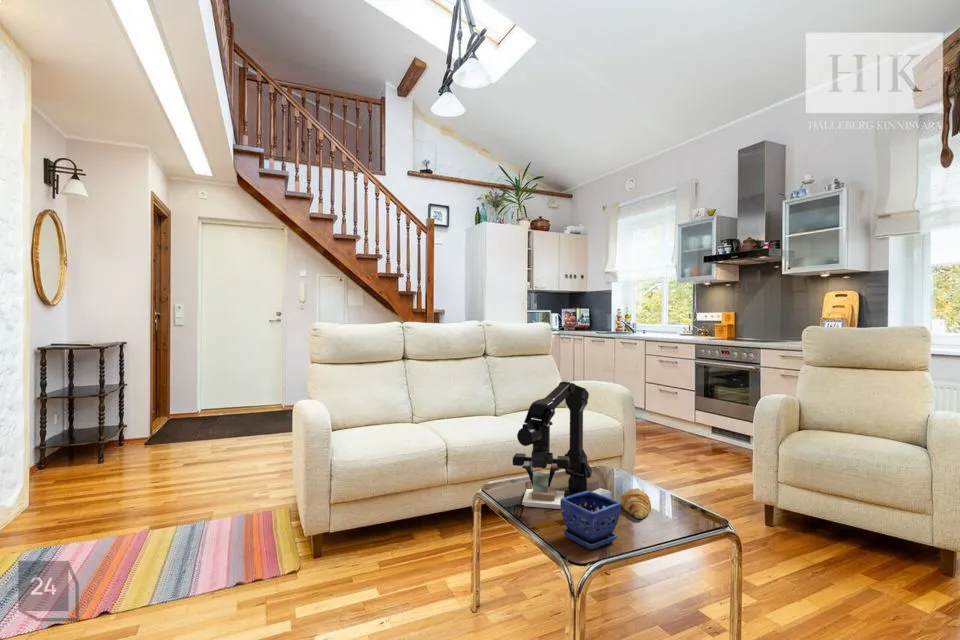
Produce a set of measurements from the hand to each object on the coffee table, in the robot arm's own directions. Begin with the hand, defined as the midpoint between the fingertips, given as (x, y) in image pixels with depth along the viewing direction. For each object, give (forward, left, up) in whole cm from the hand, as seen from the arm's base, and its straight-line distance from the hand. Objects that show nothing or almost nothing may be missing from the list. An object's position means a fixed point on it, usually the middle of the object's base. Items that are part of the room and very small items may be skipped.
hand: (540, 486), depth 165 cm
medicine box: (-19, 0, -9) cm, 21 cm away
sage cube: (0, 0, -1) cm, 1 cm away
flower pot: (-16, +17, -9) cm, 25 cm away
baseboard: (0, -12, -9) cm, 15 cm away
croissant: (-31, -11, -10) cm, 35 cm away
